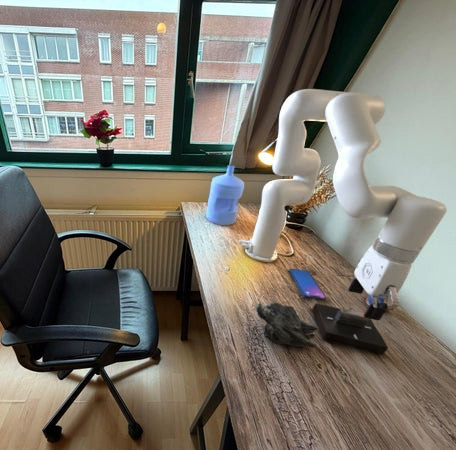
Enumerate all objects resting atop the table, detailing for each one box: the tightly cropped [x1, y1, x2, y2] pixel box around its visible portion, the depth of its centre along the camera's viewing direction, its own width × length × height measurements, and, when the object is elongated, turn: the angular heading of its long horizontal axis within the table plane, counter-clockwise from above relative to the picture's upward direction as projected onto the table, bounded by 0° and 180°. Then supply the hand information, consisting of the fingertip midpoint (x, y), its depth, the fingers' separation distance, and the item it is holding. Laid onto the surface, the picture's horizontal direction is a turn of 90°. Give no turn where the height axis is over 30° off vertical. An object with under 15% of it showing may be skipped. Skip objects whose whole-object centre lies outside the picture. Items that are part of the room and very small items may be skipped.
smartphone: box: [288, 268, 327, 301], centre depth 86 cm, size 7×1×15 cm
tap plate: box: [311, 302, 389, 356], centre depth 69 cm, size 14×11×3 cm
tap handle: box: [335, 307, 369, 328], centre depth 67 cm, size 6×2×4 cm, turn 74°
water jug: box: [205, 164, 245, 226], centre depth 123 cm, size 16×16×28 cm
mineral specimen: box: [255, 301, 319, 349], centre depth 66 cm, size 15×13×10 cm
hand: (362, 304), depth 64 cm, fingers open, 9 cm apart
